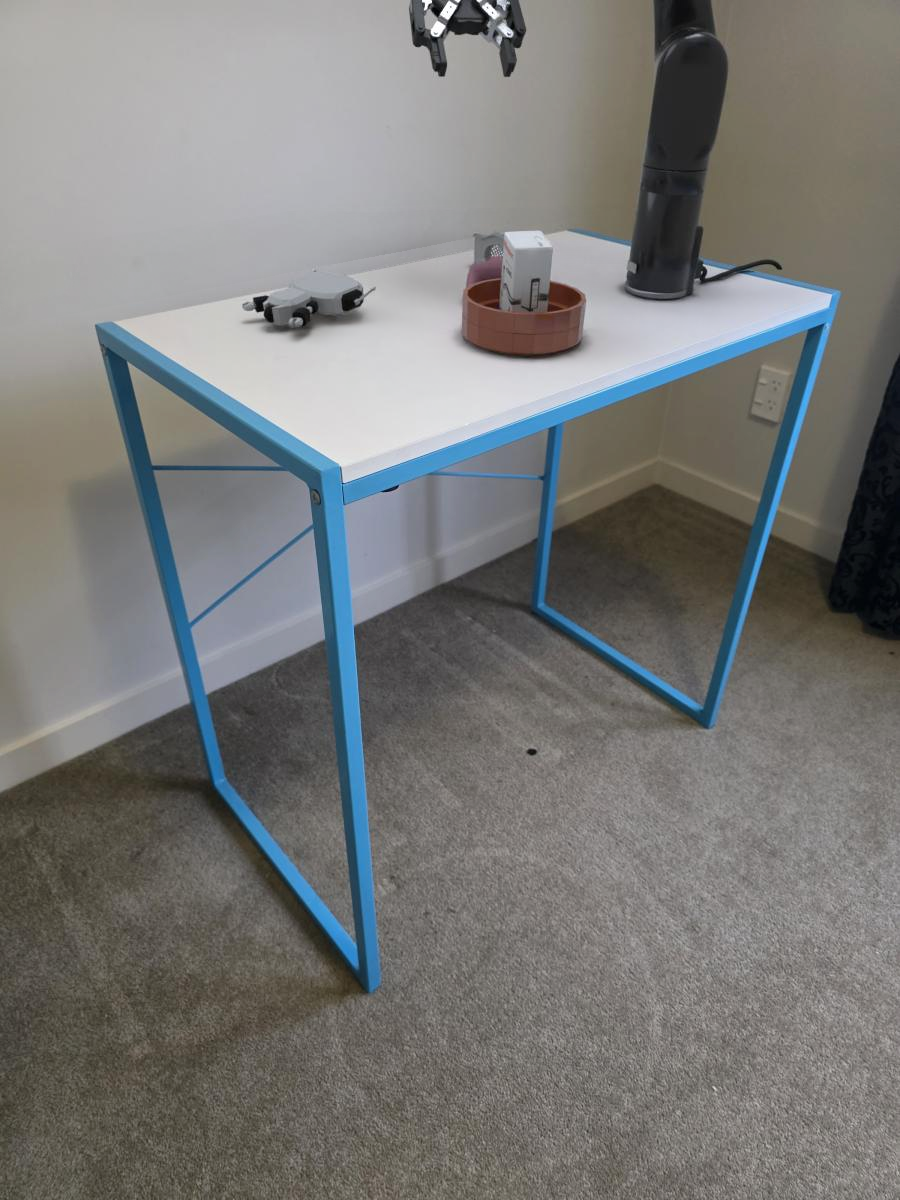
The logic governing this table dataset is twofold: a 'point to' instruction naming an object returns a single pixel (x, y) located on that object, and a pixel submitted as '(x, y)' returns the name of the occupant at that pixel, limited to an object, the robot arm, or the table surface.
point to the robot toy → (310, 299)
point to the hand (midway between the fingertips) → (476, 72)
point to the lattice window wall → (487, 245)
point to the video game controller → (485, 270)
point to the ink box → (525, 272)
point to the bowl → (522, 320)
